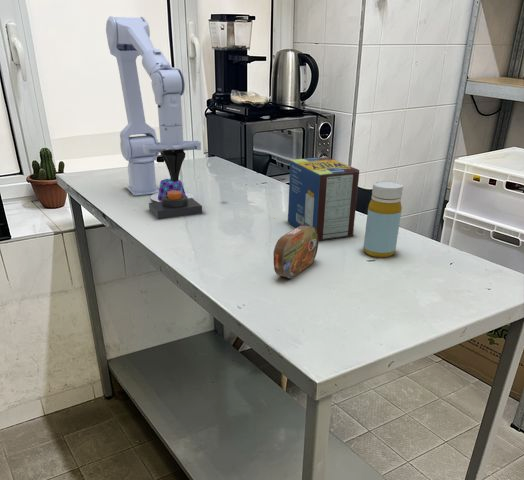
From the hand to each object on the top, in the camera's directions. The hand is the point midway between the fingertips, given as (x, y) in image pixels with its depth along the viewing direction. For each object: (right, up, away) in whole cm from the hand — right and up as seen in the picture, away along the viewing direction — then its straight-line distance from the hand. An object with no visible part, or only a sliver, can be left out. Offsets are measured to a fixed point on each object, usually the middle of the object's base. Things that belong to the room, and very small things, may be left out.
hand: (174, 180), depth 140 cm
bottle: (+49, -22, -19) cm, 57 cm away
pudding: (-3, -1, +14) cm, 14 cm away
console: (0, -7, +4) cm, 8 cm away
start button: (0, -4, +2) cm, 5 cm away
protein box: (+37, -14, -6) cm, 40 cm away
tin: (+30, -28, -28) cm, 49 cm away
